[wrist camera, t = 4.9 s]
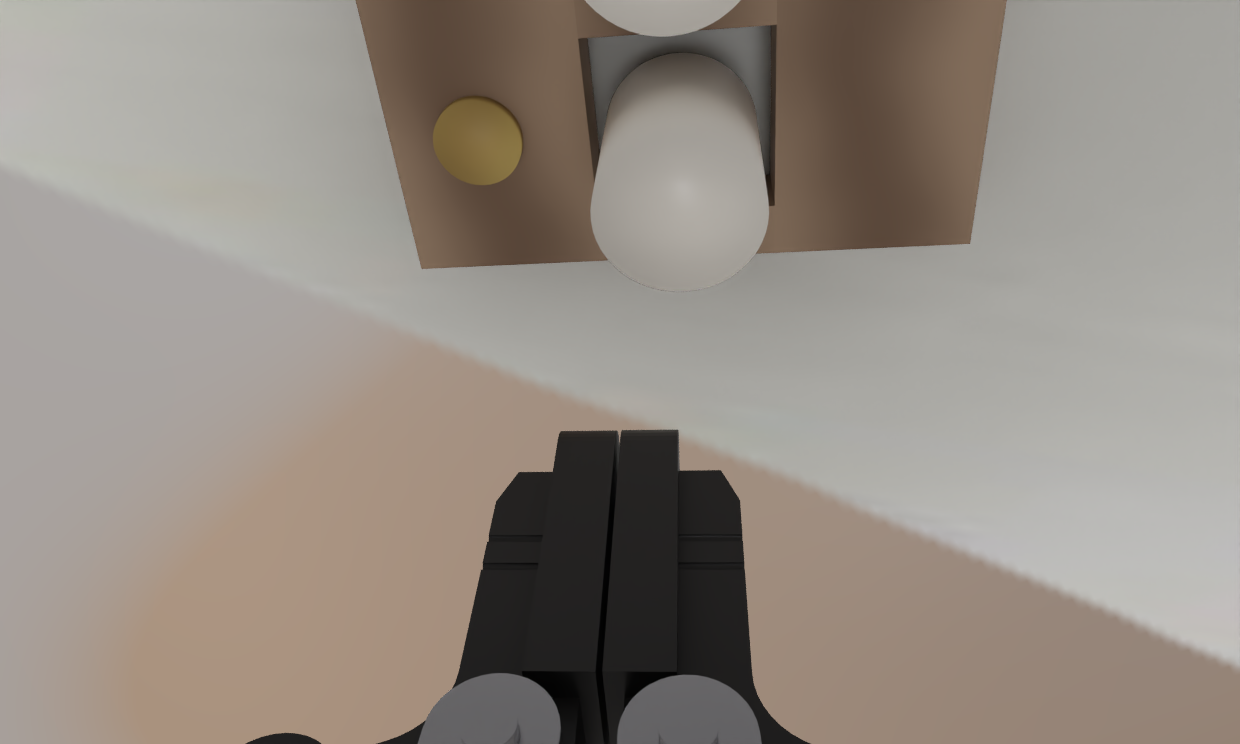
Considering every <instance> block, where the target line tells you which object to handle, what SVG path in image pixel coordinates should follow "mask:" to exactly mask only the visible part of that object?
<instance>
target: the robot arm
mask: <svg viewBox="0 0 1240 744" xmlns="http://www.w3.org/2000/svg"><path fill="white" fill-rule="evenodd" d="M743 554H744V553H743V541H742V524H741V510H740V500H739V498H738V497H737V495H736V493H735V492H734V490H733V489H732V487H731V486H730V484H729V482H728V481H727V479H726V478H725V476H724V475H723V473H722V472H721V471H720V470H716V471H715V470H712V471H709V470H708V471H680V469H679V433H678V430H622V432H621V437H620V445H619V435H618V431H561V432H560V434H559V437H558V443H557V450H556V456H555V462H554V468H553V472H519V473H518V474H517V475H516V477H515V478H514V479H513V481H512V482H511V483H510V484H509V486H508V487H507V488H506V490H505V491H504V492H503V494H502V495H501V496H500V497H499V499H498V500H497V501H496V505H495V509H494V514H493V518H492V523H491V528H490V532H489V542H487V546H486V550H485V555H484V559H483V570H481V573H480V578H479V582H478V587H477V591H476V596H475V600H474V605H473V609H472V614H471V619H470V623H469V628H468V633H467V637H466V641H465V646H464V651H463V655H462V660H461V664H460V669H459V673H458V676H457V679H456V682H455V684H454V686H453V688H452V689H451V690H450V691H449V692H448V693H447V694H445V695H444V696H443V697H442V698H441V699H440V700H439V701H438V703H437V704H436V705H435V706H434V707H433V709H432V710H431V712H430V714H429V715H428V717H427V719H426V721H424V722H423V723H422V724H420V725H419V726H417V727H416V728H414V729H413V730H411V731H409V732H407V733H405V734H403V735H401V736H398V737H396V738H393V739H390V740H387V741H384V742H381V743H378V744H810V743H807V742H805V741H803V740H801V739H800V738H798V737H796V736H794V735H792V734H791V733H790V732H788V731H787V730H786V729H784V728H783V727H781V726H780V725H779V724H778V723H777V722H776V721H775V720H774V719H773V718H772V717H771V716H770V714H769V713H768V712H767V710H766V709H765V708H764V706H763V704H762V703H761V701H760V699H759V697H758V695H757V692H756V689H755V686H754V683H753V676H752V667H751V653H750V640H749V625H748V610H747V595H746V582H745V570H744V555H743ZM246 744H321V743H320V742H318V741H317V740H315V739H313V738H311V737H308V736H305V735H301V734H294V733H281V734H273V735H269V736H264V737H261V738H258V739H255V740H253V741H250V742H248V743H246Z"/></svg>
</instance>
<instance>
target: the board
mask: <svg viewBox="0 0 1240 744" xmlns="http://www.w3.org/2000/svg"><path fill="white" fill-rule="evenodd" d="M1006 1H1007V0H741V1H740V2H739V3H738V4H737V5H736V6H735V7H734V8H733V9H732V10H731V11H729V12H728V13H727V14H725V15H724V16H723V17H722V18H720V19H719V20H717V21H715V22H714V23H712V24H710V25H708V26H706V27H704V28H702V29H699V30H709V29H724V28H738V27H752V26H767V25H771V115H770V175H765V180H766V188H767V195H768V202H769V220H768V226H767V230H766V234H765V236H764V239H763V241H762V243H761V245H760V247H759V249H758V251H757V252H756V253H778V252H800V251H821V250H843V249H865V248H887V247H909V246H930V245H952V244H970V240H971V233H972V227H973V220H974V213H975V207H976V200H977V194H978V187H979V180H980V174H981V167H982V160H983V154H984V147H985V141H986V134H987V127H988V121H989V114H990V107H991V101H992V94H993V88H994V81H995V74H996V68H997V61H998V54H999V48H1000V41H1001V35H1002V28H1003V21H1004V15H1005V8H1006ZM356 4H357V8H358V12H359V16H360V20H361V24H362V28H363V32H364V36H365V40H366V44H367V48H368V53H369V57H370V61H371V65H372V69H373V73H374V77H375V81H376V85H377V89H378V93H379V97H380V101H381V105H382V109H383V114H384V118H385V122H386V126H387V130H388V134H389V138H390V142H391V146H392V150H393V154H394V158H395V162H396V166H397V171H398V175H399V179H400V183H401V187H402V191H403V195H404V199H405V203H406V207H407V211H408V215H409V219H410V223H411V227H412V232H413V236H414V240H415V244H416V248H417V252H418V256H419V260H420V264H421V268H422V269H429V268H451V267H473V266H494V265H516V264H538V263H560V262H582V261H603V260H608V259H607V258H606V257H605V255H604V254H603V252H602V251H601V249H600V247H599V245H598V243H597V241H596V239H595V236H594V233H593V229H592V224H591V212H590V209H591V200H592V194H593V189H594V183H595V178H596V172H597V167H598V162H599V156H600V150H599V141H598V132H597V122H596V113H595V104H594V94H593V85H592V76H591V66H590V57H589V48H588V38H595V37H609V36H623V35H638V33H634V32H630V31H628V30H625V29H623V28H621V27H618V26H616V25H615V24H613V23H611V22H609V21H608V20H606V19H605V18H604V17H602V16H601V15H600V14H598V13H597V12H596V11H595V10H594V9H593V8H592V7H591V6H590V5H589V4H588V3H587V2H586V1H585V0H356Z"/></svg>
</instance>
